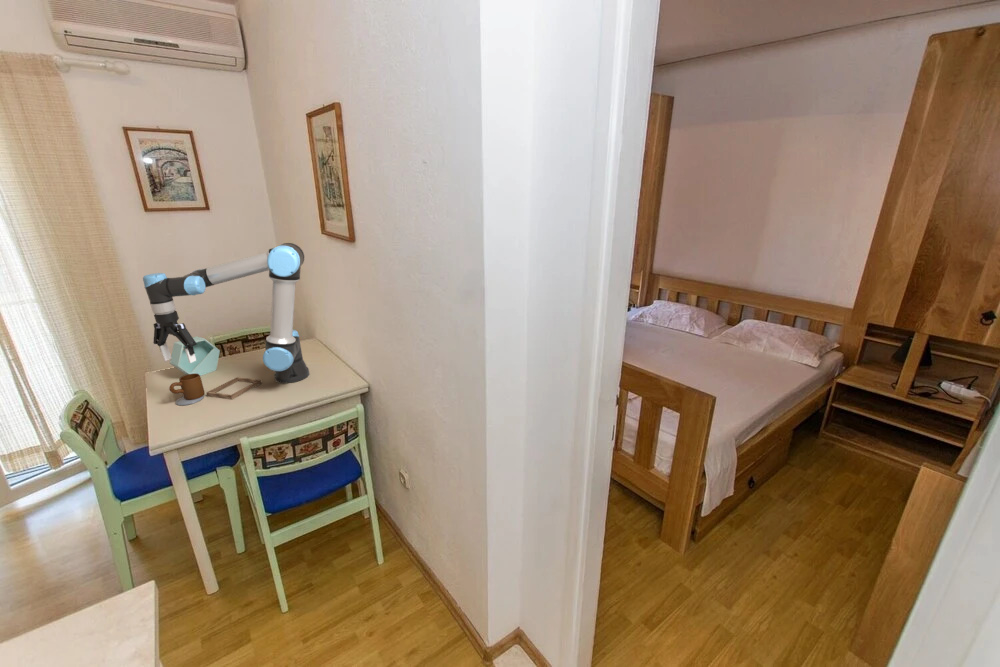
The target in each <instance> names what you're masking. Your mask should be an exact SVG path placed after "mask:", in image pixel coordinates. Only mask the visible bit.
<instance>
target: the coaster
mask: <svg viewBox="0 0 1000 667" xmlns="http://www.w3.org/2000/svg"><path fill="white" fill-rule="evenodd" d="M204 396H205V395H203V396H202V397H200V398H198V399H194V400H186V399H185V398H184V396H183V395H182V396H181V397H179V398H178V399H176V401H175V405H177V406H181V407H183V406H190V405H193V404H196V403H199V402H201V401H202V400H203V399H204Z"/></svg>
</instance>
